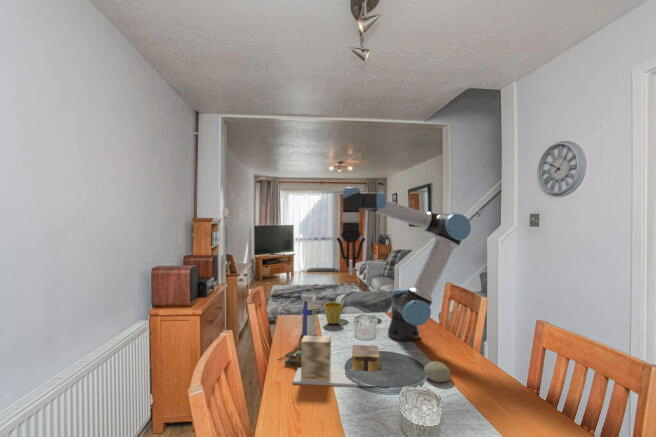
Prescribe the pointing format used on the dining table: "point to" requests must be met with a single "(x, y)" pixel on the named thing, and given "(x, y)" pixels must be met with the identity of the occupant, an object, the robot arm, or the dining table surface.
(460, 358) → the dining table surface
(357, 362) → the walnut block
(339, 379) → the felt mat
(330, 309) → the plant pot
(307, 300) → the water bottle
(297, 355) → the decorative book
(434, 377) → the sea urchin shell
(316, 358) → the oak block
